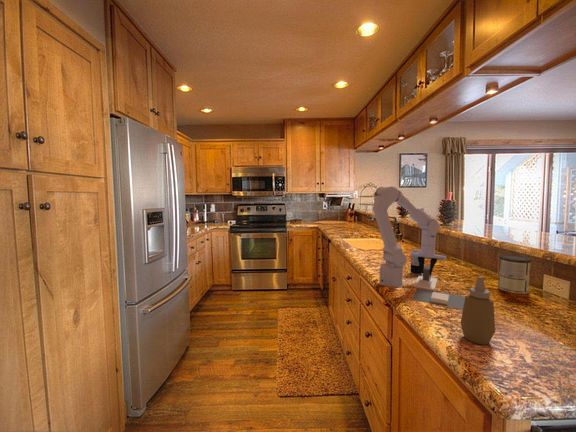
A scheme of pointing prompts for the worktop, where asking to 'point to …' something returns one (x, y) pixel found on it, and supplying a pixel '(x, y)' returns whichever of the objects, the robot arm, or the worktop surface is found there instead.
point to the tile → (440, 298)
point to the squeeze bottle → (478, 314)
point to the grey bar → (426, 277)
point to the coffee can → (514, 274)
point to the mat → (453, 302)
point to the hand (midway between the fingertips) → (426, 274)
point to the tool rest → (434, 281)
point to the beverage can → (415, 264)
